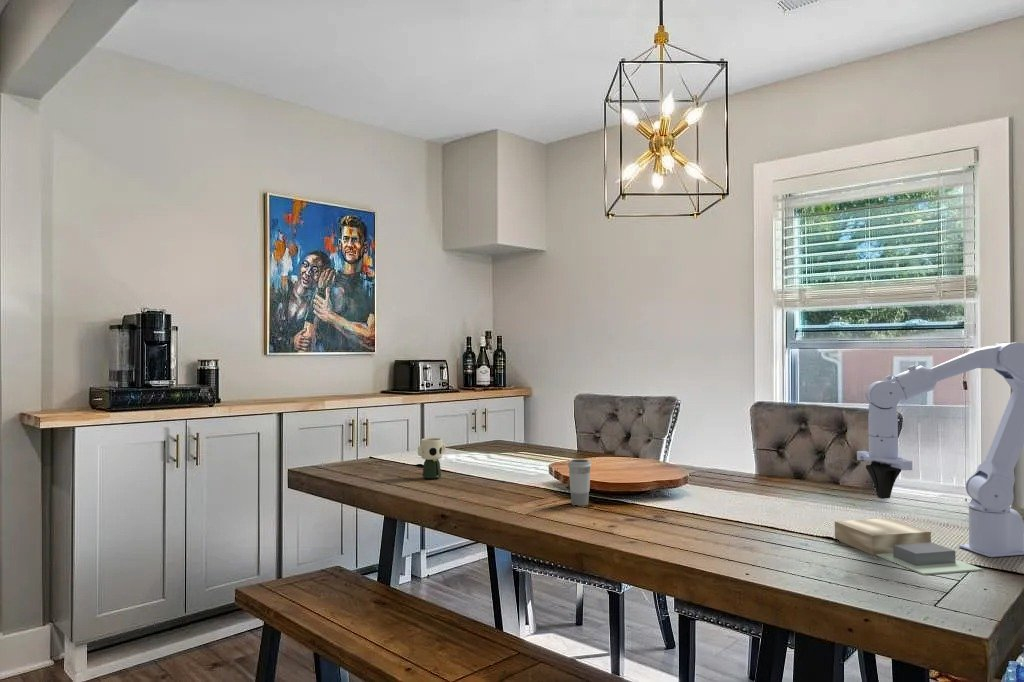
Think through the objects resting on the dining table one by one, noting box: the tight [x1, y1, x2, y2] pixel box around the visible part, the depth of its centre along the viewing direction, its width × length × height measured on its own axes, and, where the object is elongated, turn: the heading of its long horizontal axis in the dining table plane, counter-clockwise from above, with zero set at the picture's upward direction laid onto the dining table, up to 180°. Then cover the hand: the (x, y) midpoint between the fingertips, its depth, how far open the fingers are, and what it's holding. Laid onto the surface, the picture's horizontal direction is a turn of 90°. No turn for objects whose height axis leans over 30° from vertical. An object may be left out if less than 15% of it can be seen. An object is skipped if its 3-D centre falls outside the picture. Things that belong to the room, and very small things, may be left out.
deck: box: [834, 517, 932, 556], centre depth 151 cm, size 14×12×4 cm
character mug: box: [417, 437, 446, 479], centre depth 230 cm, size 11×7×13 cm, turn 133°
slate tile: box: [893, 541, 956, 566], centre depth 139 cm, size 9×6×2 cm, turn 101°
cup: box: [566, 458, 593, 507], centre depth 191 cm, size 7×7×12 cm
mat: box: [875, 553, 983, 576], centre depth 138 cm, size 13×12×1 cm
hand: (883, 497), depth 152 cm, fingers closed
